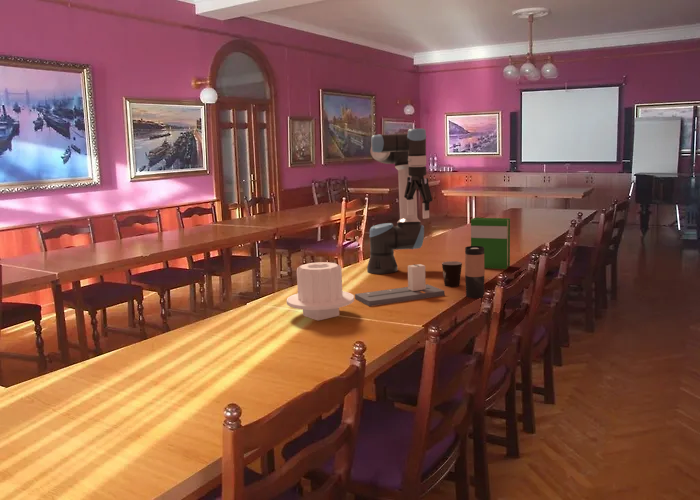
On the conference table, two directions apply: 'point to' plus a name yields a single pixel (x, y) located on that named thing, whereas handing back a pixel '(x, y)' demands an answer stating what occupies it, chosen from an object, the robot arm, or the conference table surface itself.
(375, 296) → the fader console
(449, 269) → the coffee mug
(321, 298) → the ribbed cylinder on disc
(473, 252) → the travel mug
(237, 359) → the conference table surface
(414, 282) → the fader tab
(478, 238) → the hardback book
